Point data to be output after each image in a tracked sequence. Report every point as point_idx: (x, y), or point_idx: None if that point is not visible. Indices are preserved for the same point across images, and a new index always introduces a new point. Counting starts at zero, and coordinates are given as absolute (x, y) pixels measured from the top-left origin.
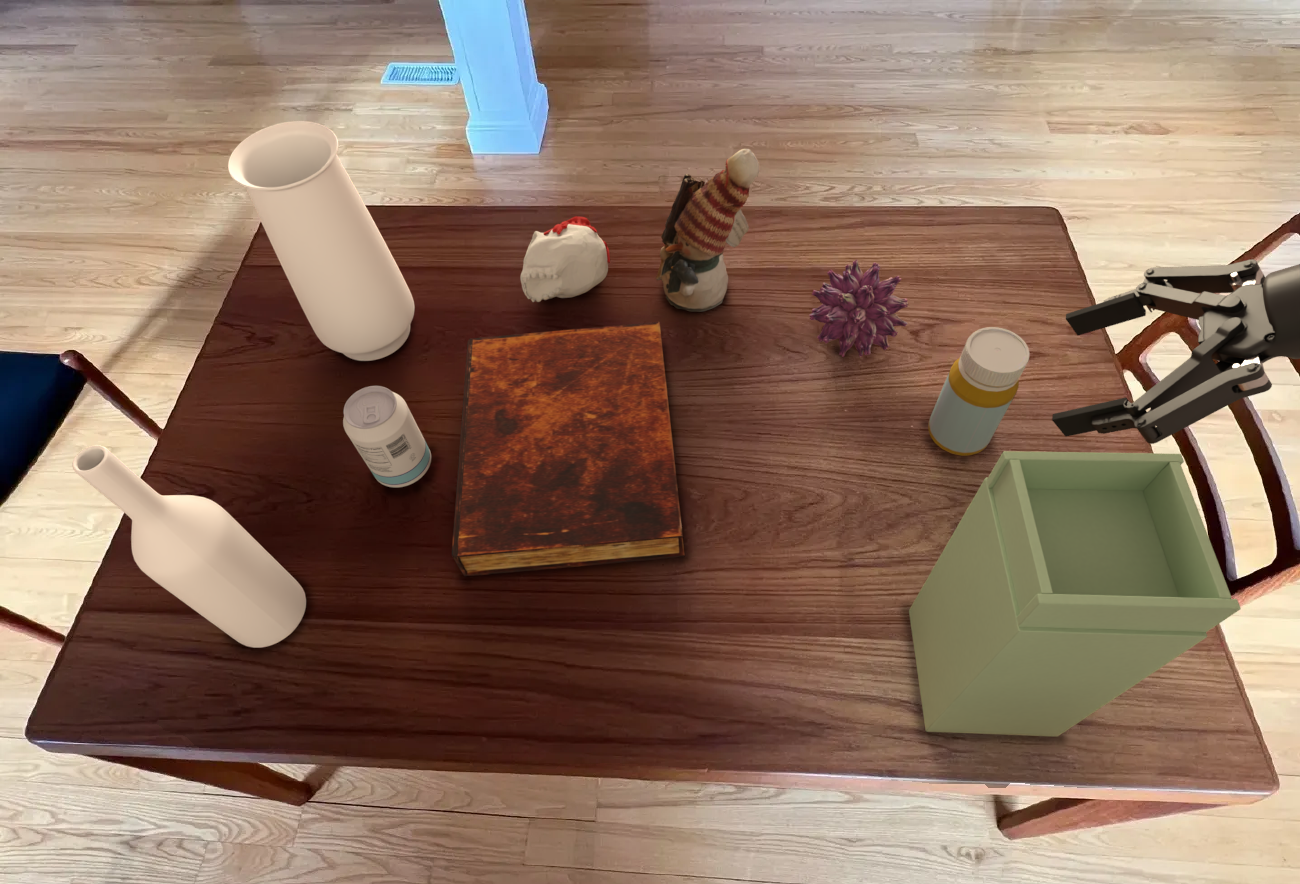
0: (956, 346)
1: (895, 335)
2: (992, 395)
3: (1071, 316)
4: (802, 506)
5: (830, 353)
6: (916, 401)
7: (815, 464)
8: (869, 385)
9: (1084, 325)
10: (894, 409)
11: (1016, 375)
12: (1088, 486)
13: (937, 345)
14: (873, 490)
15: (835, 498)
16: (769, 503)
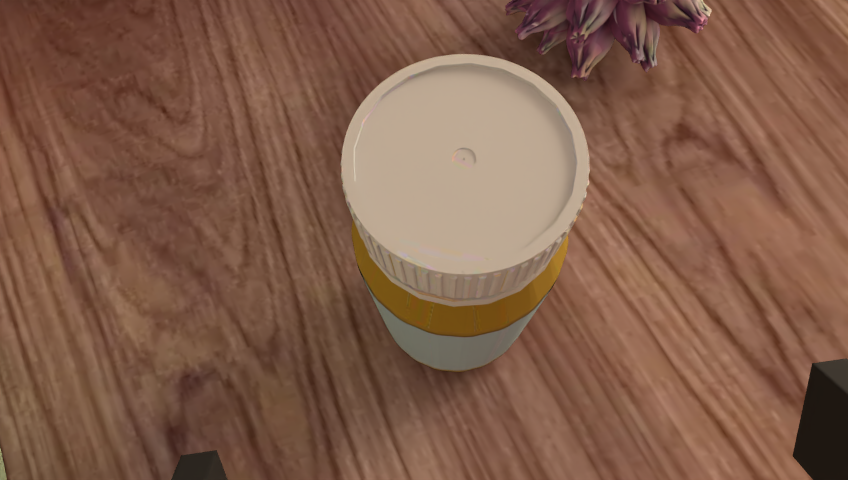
0: (704, 223)
1: (578, 42)
2: (366, 254)
3: (836, 380)
4: (153, 99)
5: None
6: None
7: (253, 85)
8: None
9: (838, 460)
10: None
11: (398, 268)
12: None
13: (680, 185)
14: (234, 195)
15: (190, 141)
16: (140, 51)
